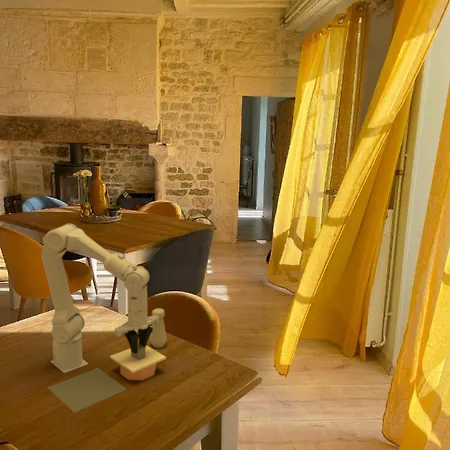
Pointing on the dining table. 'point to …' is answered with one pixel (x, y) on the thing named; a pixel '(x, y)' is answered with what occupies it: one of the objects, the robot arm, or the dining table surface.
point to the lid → (138, 358)
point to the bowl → (138, 373)
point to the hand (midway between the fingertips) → (138, 350)
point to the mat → (86, 389)
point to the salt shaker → (158, 330)
